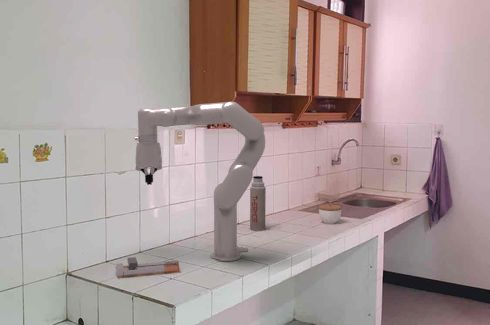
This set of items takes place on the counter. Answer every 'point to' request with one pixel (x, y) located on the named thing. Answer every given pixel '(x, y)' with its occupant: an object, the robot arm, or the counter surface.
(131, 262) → the tab
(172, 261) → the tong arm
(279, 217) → the counter surface
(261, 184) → the thermos bottle
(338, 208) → the lidded bowl
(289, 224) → the counter surface
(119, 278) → the walnut board
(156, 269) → the tongs fixed
